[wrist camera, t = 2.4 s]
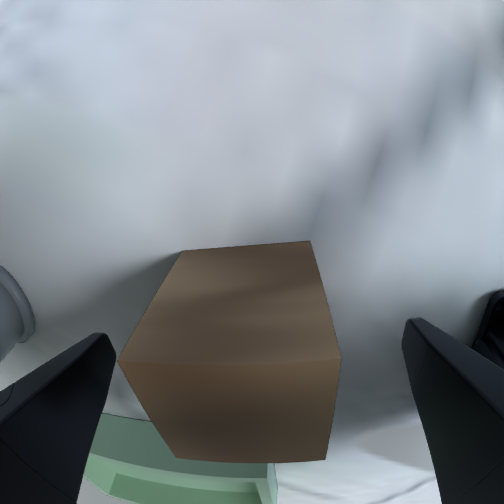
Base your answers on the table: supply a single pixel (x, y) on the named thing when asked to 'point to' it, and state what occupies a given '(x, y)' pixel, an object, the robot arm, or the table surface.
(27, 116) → the table surface
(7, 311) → the grey domed knob
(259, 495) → the parts tray
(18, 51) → the table surface
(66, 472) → the robot arm
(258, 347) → the walnut block
